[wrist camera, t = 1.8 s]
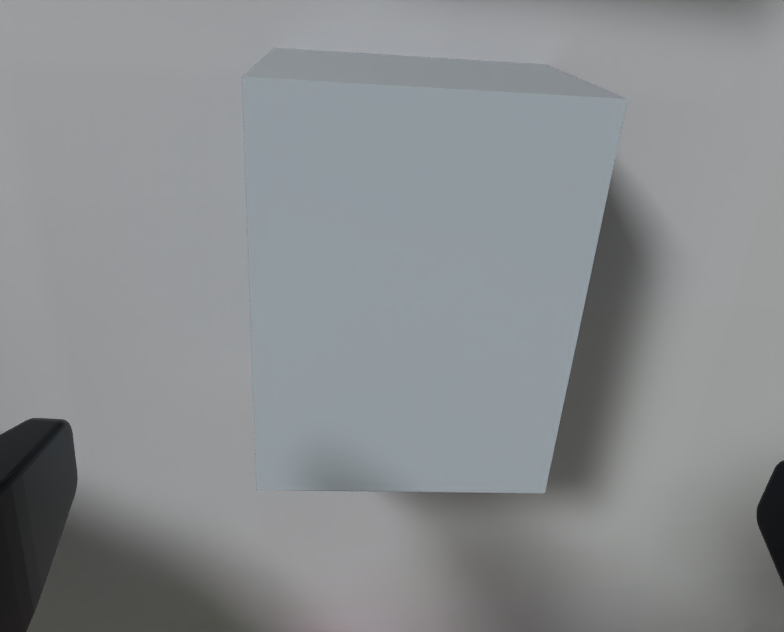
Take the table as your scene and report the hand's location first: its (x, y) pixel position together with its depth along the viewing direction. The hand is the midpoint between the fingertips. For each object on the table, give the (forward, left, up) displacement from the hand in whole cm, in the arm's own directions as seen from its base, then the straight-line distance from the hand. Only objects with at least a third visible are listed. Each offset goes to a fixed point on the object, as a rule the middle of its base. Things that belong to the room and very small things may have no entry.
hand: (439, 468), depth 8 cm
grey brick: (0, 0, -9) cm, 9 cm away
